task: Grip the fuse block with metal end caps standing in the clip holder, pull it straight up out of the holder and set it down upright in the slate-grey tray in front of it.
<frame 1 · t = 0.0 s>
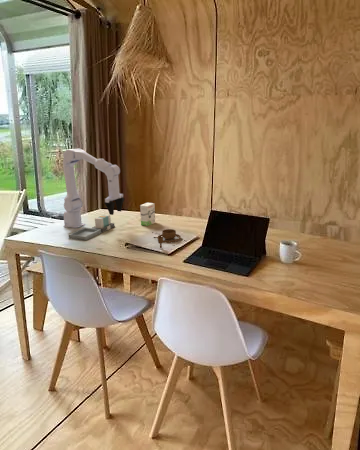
hand: (115, 212, 199), 10 cm above the table, tool pointing down, fingers open, 7 cm apart
clip holder: (103, 228, 206), on the table
ink box: (148, 224, 214), on the table
fuse: (103, 222, 205), in the clip holder
tray: (85, 235, 194), on the table
place setting: (163, 242, 184), on the table
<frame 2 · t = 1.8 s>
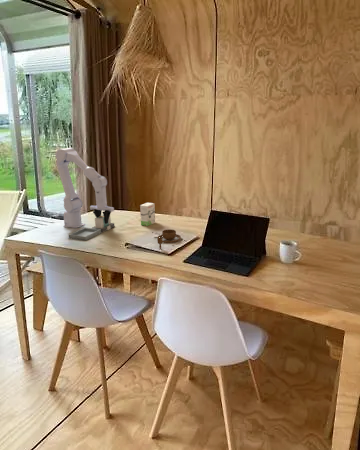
hand: (103, 222, 205), 3 cm above the table, tool pointing down, fingers closed on fuse, 4 cm apart
fuse: (103, 222, 205), in the clip holder, touching gripper
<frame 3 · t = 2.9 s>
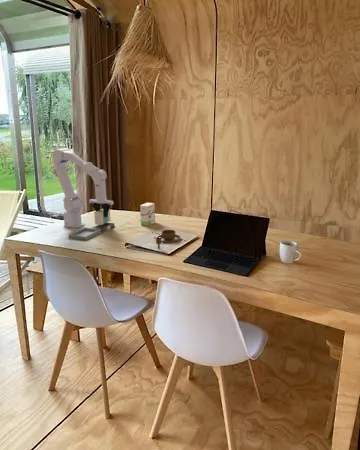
hand: (102, 216, 204), 7 cm above the table, tool pointing down, fingers closed on fuse, 4 cm apart
fuse: (102, 216, 204), point 7 cm above the table, touching gripper
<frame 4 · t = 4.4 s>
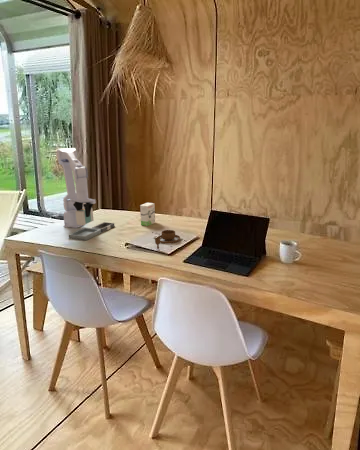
hand: (84, 216, 192), 10 cm above the table, tool pointing down, fingers closed on fuse, 4 cm apart
fuse: (84, 216, 192), point 10 cm above the table, touching gripper
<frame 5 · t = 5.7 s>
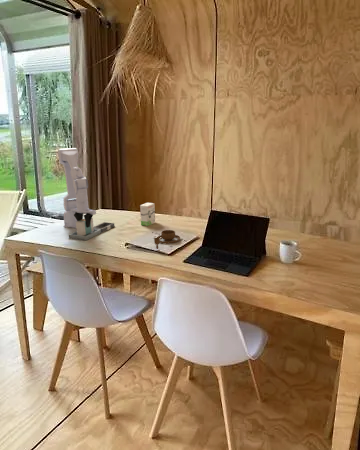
hand: (84, 226, 193), 5 cm above the table, tool pointing down, fingers closed on fuse, 4 cm apart
fuse: (85, 226, 193), point 5 cm above the table, touching gripper
when the fingers open (5 cm above the table, at t = 5.9 s): fuse stays where it is, resting on tray.
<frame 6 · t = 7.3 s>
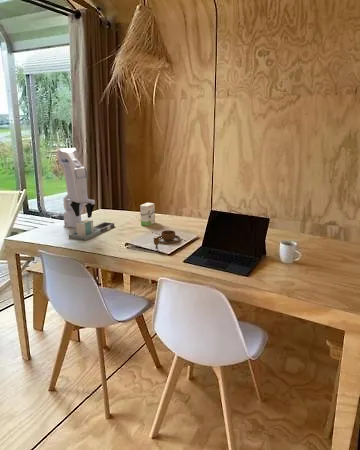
hand: (83, 216, 192), 10 cm above the table, tool pointing down, fingers open, 7 cm apart
fuse: (85, 228, 194), in the tray
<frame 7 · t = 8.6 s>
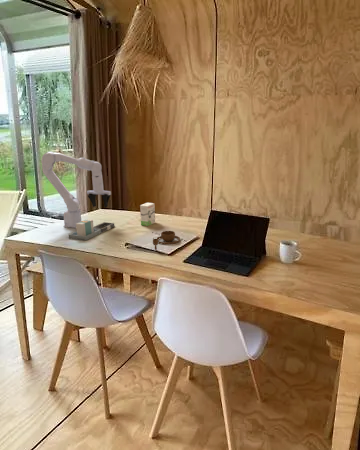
hand: (100, 206, 212), 10 cm above the table, tool pointing down, fingers open, 7 cm apart
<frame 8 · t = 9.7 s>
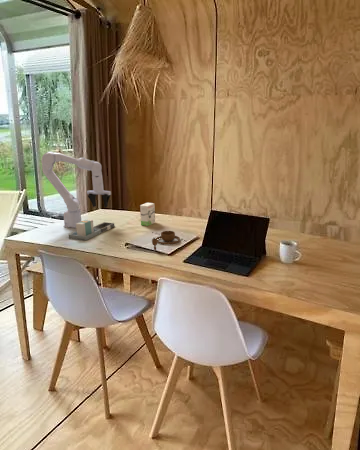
hand: (100, 206, 212), 10 cm above the table, tool pointing down, fingers open, 7 cm apart
at the end: fuse inside the target area on the tray (0.3 cm from its centre), point 4.1 cm above the tray's base; fuse tilted 0°; the gripper is holding nothing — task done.
